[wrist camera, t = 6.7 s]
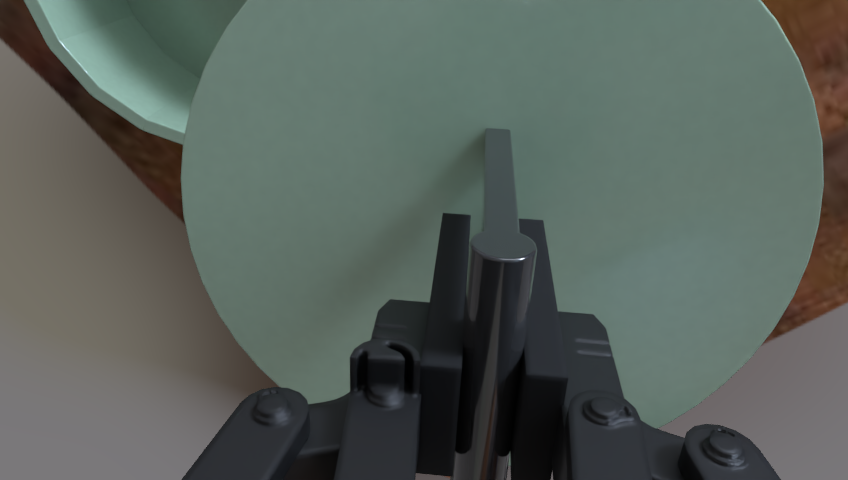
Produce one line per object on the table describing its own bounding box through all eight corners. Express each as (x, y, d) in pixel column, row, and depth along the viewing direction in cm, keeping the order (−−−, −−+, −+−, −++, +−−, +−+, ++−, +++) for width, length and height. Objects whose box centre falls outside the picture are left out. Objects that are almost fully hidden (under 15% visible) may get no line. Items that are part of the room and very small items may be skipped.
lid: (907, -100, 16) (1306, -90, 8) (718, 464, 24) (825, 731, 17) (155, -133, 17) (-127, -153, 9) (225, 419, 26) (110, 650, 18)
